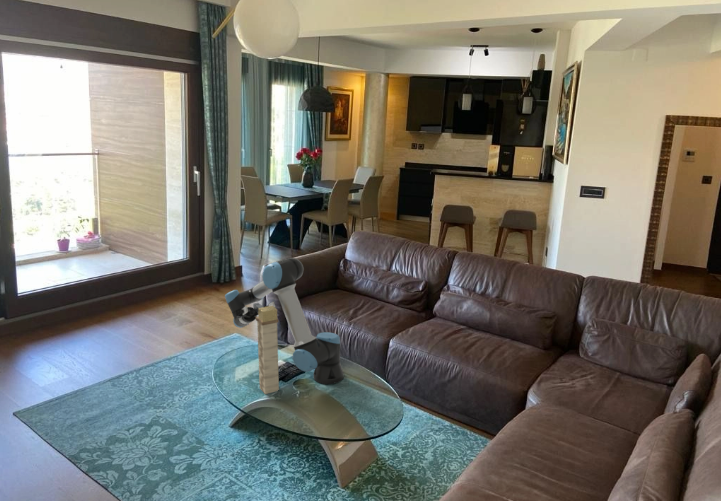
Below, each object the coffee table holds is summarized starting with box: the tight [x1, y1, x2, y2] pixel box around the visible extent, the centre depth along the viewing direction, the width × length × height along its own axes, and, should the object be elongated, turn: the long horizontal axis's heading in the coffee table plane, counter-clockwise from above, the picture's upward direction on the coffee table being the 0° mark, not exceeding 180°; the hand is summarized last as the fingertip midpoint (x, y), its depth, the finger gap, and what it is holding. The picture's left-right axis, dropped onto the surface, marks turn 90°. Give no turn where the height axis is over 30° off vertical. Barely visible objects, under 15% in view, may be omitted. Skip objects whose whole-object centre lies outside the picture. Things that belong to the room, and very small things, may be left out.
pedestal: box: [255, 315, 280, 395], centre depth 258 cm, size 8×8×36 cm
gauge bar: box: [252, 302, 278, 322], centre depth 257 cm, size 18×7×5 cm, turn 32°
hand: (260, 306), depth 259 cm, fingers open, 13 cm apart
